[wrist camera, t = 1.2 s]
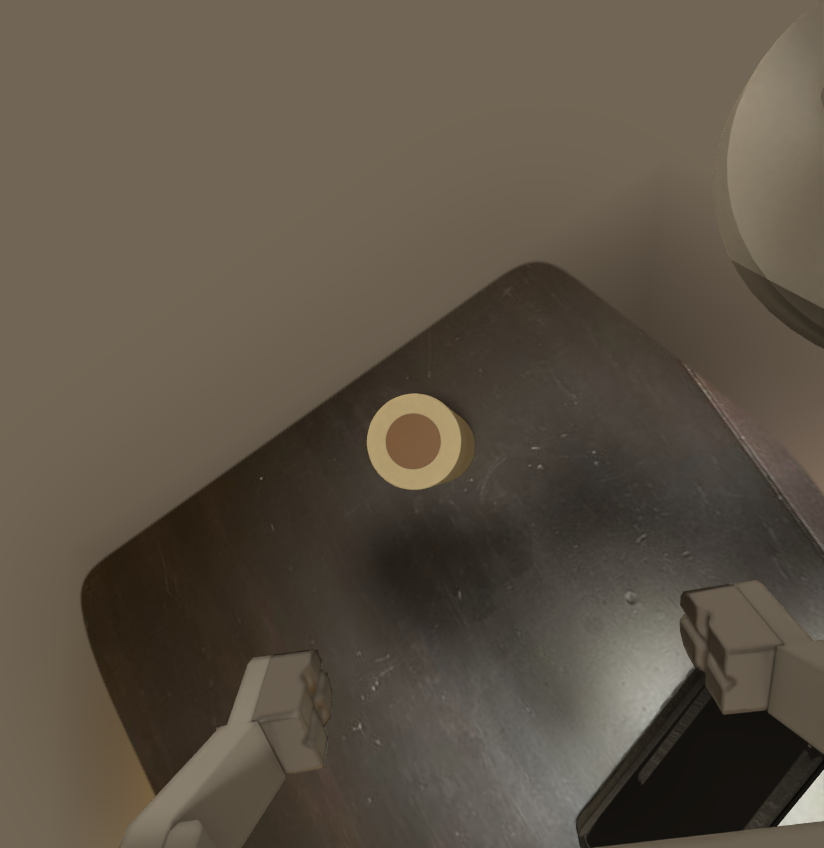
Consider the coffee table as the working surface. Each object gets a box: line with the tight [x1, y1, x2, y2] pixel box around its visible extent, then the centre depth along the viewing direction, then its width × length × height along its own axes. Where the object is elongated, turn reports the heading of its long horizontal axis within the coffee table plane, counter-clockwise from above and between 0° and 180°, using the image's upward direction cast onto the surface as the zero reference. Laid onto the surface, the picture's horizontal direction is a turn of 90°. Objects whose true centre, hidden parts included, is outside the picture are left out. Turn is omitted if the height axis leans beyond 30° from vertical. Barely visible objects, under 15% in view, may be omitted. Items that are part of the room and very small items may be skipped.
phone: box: [577, 668, 824, 848], centre depth 31 cm, size 8×1×15 cm
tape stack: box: [367, 394, 475, 490], centre depth 32 cm, size 5×5×9 cm
